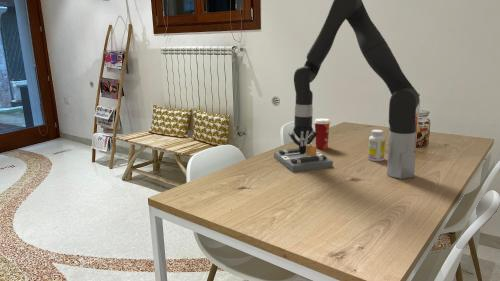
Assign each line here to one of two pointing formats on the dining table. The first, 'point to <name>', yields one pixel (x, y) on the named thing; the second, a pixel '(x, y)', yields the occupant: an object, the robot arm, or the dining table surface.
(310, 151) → the block
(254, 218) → the dining table surface
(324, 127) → the paper cup
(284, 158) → the breaker panel
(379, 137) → the supplement bottle
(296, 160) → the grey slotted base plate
